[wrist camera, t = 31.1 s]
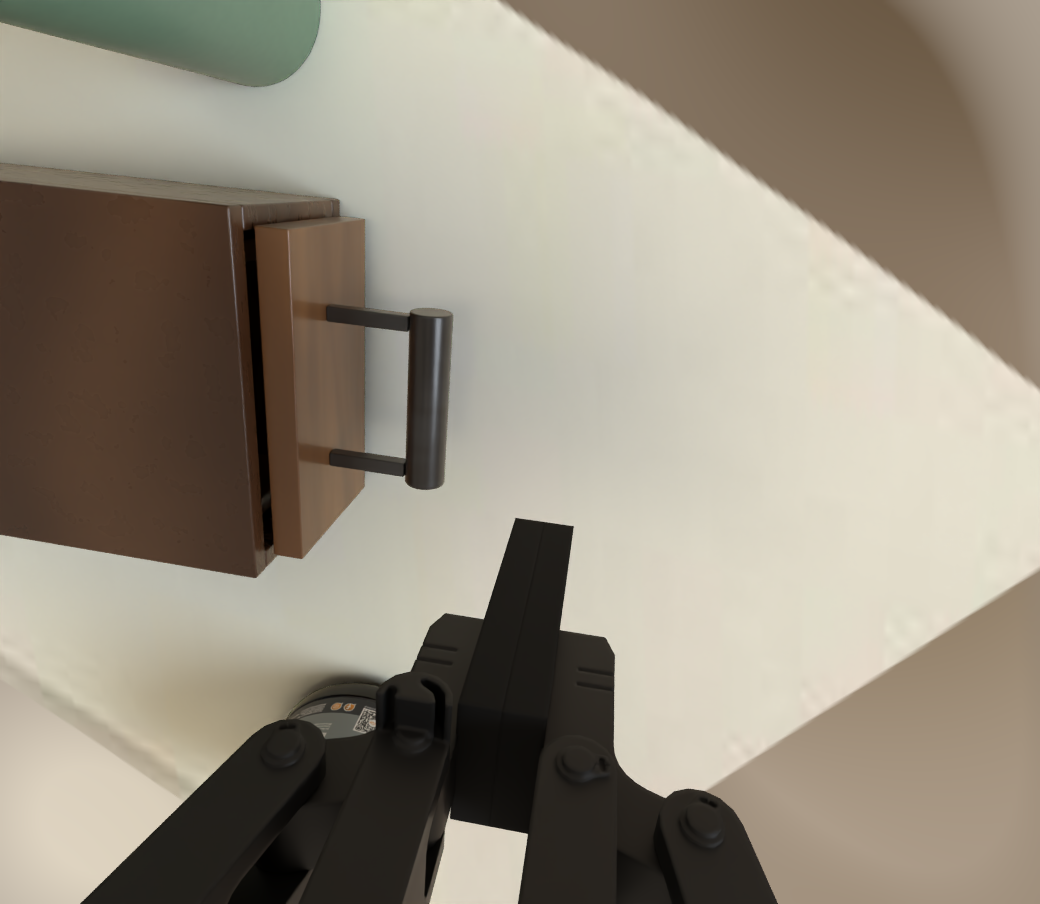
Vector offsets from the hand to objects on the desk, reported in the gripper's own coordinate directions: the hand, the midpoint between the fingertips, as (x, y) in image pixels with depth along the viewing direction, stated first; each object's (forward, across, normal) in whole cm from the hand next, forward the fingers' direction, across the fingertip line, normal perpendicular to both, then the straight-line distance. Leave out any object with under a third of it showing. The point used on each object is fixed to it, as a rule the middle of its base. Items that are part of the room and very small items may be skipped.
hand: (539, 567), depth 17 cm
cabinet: (+14, -20, +1) cm, 24 cm away
